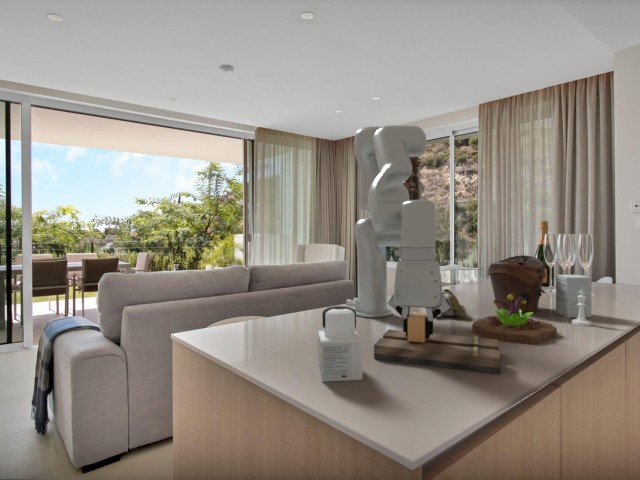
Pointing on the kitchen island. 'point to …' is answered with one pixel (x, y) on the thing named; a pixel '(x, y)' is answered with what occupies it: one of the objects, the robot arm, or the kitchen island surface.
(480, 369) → the slider console
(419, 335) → the fader tab
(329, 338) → the container
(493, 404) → the kitchen island surface
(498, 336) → the plant
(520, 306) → the brown flower pot
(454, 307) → the ceramic sculpture
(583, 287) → the supplement box
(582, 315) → the chess piece
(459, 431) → the kitchen island surface
